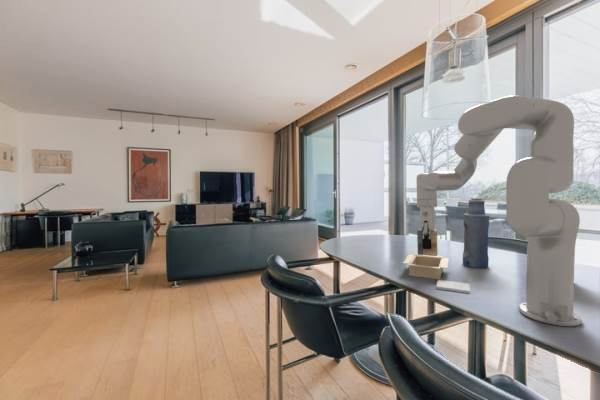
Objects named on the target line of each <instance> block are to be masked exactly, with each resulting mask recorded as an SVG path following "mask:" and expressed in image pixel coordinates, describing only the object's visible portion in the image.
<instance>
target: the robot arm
mask: <svg viewBox="0 0 600 400" xmlns="http://www.w3.org/2000/svg"><path fill="white" fill-rule="evenodd" d="M574 117H575V116H574V114H573V111H572V110H571V108H570V107H569V106H568V105H566V104H564V103H563V102H560V101H558V100H557V101H556V100H552V99H545V98H539V97H531V96H521V95H508V96H503V97H500V98H497V99H494V100H491V101H489V102H488V101H487V102H485V103H482V104H479V105H476V106H473V107H471V108H469V109H467V110H465V111H464V113H462V114H461V116H460V117H459V118H458V121H457V128H458V132H460V133H461V134H462V135H461V137H460V138H459V139H458V140H457V142H456V143H455V145H454V147H453V150H454V152H455V153H456V155H457V156H458V157H459V158H461V159H460V161H459V163H458V164H457V166H455V168H454V169H453V170H452V171H451V170H444V171H443V170H442V171H441V170H440V171H439V170H438V171H436V170H435V171H432V172H428V173H427V172H426V173H425V172H424V173H419V174H417V175H416V207H417V208H419V220H420V221H419V222H420V223H419V226H420V229H421V231H422V230H423V231H422V232H423V239H422V243H423V249H431V239H430V233H431V232H430V231H432V232H434V231H435V230H437V229H436V213H435V212H436V211H435V208H438V192H443V191H444V192H445V191H448V192H449V191H458V190H459V189H461V188H462V187H464V185H466V184H467V183H468V181H470V179H472V177H473V176H474V175H475V172H476V169H477V165H478V159H479V157H480V156H481V155H482V154H483V153H484V152H485V151H486V149H487V148H488V147H489V146H490V145H491V144H492V142H494V140H495V139H496V138H497V137H499V135H500V134H501V133H502V131H503V130H504V129H512V130H513V129H514V130H528V131H529V130H530V131H531V130H532V131H534V134H533V136H532V138H531V140H530V147H529V149H530V156H529V157H524V158H522V159H519V160H517V161H516V162H515V163H514V164H513V165H511V167H510V168H509V171H508V174H507V176H506V187H505V189H506V191H505V192H506V196H505V197H506V198H505V199H506V203H505V204H506V206H505V207H506V210H505V211H506V212H505V213H506V220H507V224H508V226H509V228H510V229H511V230H512V231H513V232H514V233H515V234H517V235H519V236H521V237H525V238H529V239H528V242H527V249H526V285H525V286H526V290H525V291H526V295H525V296H526V298H525V302H522V303H519V306H518V307H519V308H518V310H519V312H520V313H521V314H523V315H524V316H525V317H527V318H530V319H533V320H535V321H538V322H541V323H545V324H547V325H548V324H549V325H554V326H559V327H576V326H579V325H581V324H582V317H581V316H580V315H579V314H578V313H576V312H574V295H575V293H574V288H575V257H576V256H575V255H576V254H575V252H576V242H577V236H578V233H579V229H580V221H581V219H580V218H581V217H580V214H579V211H578V210H577V208H576V207H575V206H574V205H573V204H572V203H570V202H568V201H566V200H563V199H559V198H550V194H558V193H562V192H564V191H566V190H569V188H570V187H571V186H572V184H573V182H574V159H575V158H574V153H575V152H574V150H575V149H574V134H575V133H574V130H575V118H574ZM428 230H429V231H428ZM428 233H429V234H428Z"/></svg>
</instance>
